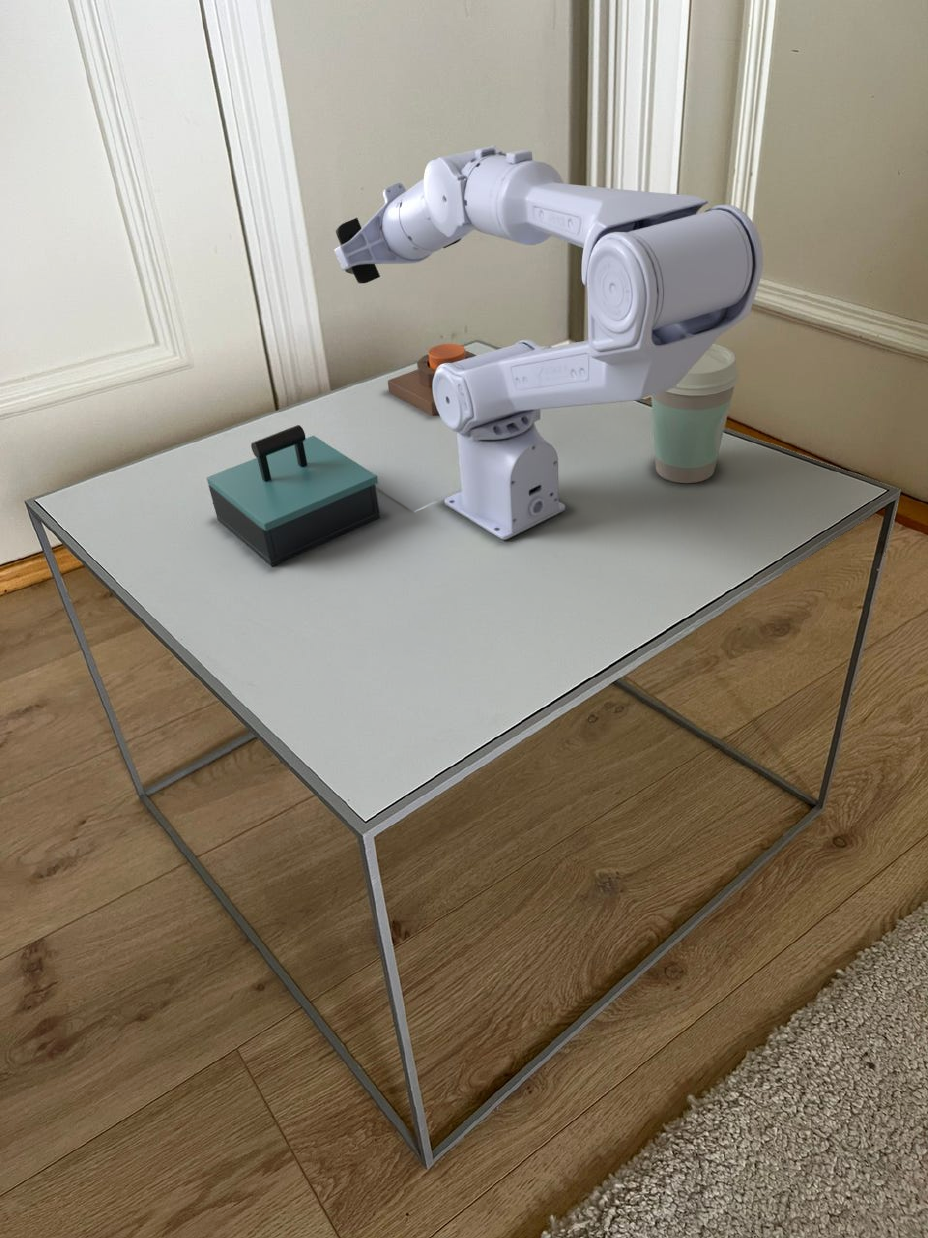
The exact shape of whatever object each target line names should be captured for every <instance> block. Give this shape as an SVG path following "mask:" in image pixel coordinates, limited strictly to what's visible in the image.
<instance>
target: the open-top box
mask: <svg viewBox="0 0 928 1238" xmlns="http://www.w3.org/2000/svg"><path fill="white" fill-rule="evenodd" d="M208 490H209V493H210V497H211V501H212V504H213V507H214V512H215V515H216V518H217V521H218V522H219V523H220V524H221V525H223V526H224V527H225V528H226V529H227V530H228V531H230V532H231V533H232V534H233V535H234V536H235V537H236V538H238V539H239V540H240V541H241V542H242V543H244V544H245V545H246V546H247V547H248V548H249V549H250V550H252V552H254V553H255V554H256V555H258V556H259V557H260V558H261V559H262V560H263V561H264V562H265V563H267V564H268V565H269V566H270V567H274V566H277V565H279V564H281V563H283V562H285V561H288V560H291V559H292V558H294V557H296V556H298V555H301V554H303V553H305V552H307V551H310V550H312V549H315V548H316V547H318V546H321V545H323V544H325V543H328V542H329V541H332V540H334V539H336V538H338V537H341V536H342V535H345V534H347V533H349V532H352V531H354V530H356V529H358V528H360V527H363V526H364V525H367V524H368V523H371V522H373V521H376V520H378V519H380V518H381V514H380V508H379V507H380V506H379V501H378V500H379V499H378V493H377V486H376V484H374V485H372V486H370V487H367V488H365V489H363V490H360V491H358V492H356V493H354V494H351V495H349V496H347V497H344V498H342V499H340V500H337V501H335V502H333V503H330V504H328V505H326V506H324V507H321V508H319V509H317V510H314V511H312V512H310V513H307V514H305V515H303V516H300V517H298V518H296V519H294V520H291V521H289V522H287V523H284V524H282V525H280V526H277V527H275V528H273V529H270V530H268V531H265V530H264V529H263V528H261V527H260V526H259V525H258V524H256V523H255V522H254V521H253V520H252V519H250V518H249V517H248V516H247V515H245V514H244V513H243V512H242V511H241V510H239V509H238V508H237V507H236V506H234V505H233V504H232V503H231V502H229V501H228V500H227V499H226V498H225V497H223V496H222V495H221V494H220V493H218V492H217V491H216V490H215V489H214V488H212V487H211V486H210V485H209V484H208Z"/></svg>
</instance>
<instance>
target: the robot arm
mask: <svg viewBox="0 0 928 1238" xmlns="http://www.w3.org/2000/svg"><path fill="white" fill-rule="evenodd" d="M382 196H383V199H384V204H383V206H381V208H379V210H378V211H376V213H375V214H373V216H372V217H371V218H370V219H369V220H368V221H367V222H366V223H365V224H363V225H364V226H362V225H361V223H360V221H359V219H358V217H355V218H353V219H350V220H347V221H345V222H343V223H341V224H340V225H339V226H338V227H337V228H336V229H335V234H336V237H337V240H338V241H339V244H340V245H339V246H338V247H336V248H335V249H334V250H333V252H334V254H335V257H336V259H337V261H338V263H339V265H340V268H341V270H342V271H343V272H344V271H345V273H347V274H350V275H354V278H355V280H356V282H357V283H358V284H367V283H370V282H372V281H374V280H377V279H379V278H380V277H381V275H380V273H379V270H378V268H377V265H388V264H389V265H392V264H393V265H394V264H396V265H398V264H399V265H400V264H402V265H403V264H404V265H405V264H417V263H420V262H422V261H425V260H426V259H428V258H429V257H430V256H432V254H433V253H435V252H437V251H440V250H441V249H446V248H449V247H451V246H452V245H455V244H457V243H459V242H460V241H461V240H462V239H463V238H464V237H466V236H468V235H469V234H470V233H471V232H473V231H477V232H479V233H483V234H486V235H490V236H493V237H497V238H500V239H504V240H507V241H511V242H514V243H518V244H521V245H525V246H536V245H539V244H542V243H543V242H545V241H548V240H549V239H550V238H551V237H553V238H555V239H559V240H561V241H564V242H566V243H569V244H571V245H574V246H577V247H579V248H582V249H583V250H582V257H581V281H582V284H583V285H584V287H586V289H587V329H588V330H587V332H588V334H587V335H588V339H587V340H582V341H577V342H573V343H572V342H571V343H567V344H563V345H557V346H551V345H545V346H541V345H539V344H537V343H536V342H534V341H533V340H531V339H521V340H519V341H518V342H516V343H515V344H512V345H509V346H505V347H501V348H499V349H494V350H491V351H489V352H485V353H482V354H478V355H477V356H474V357H471V358H468V359H464V360H461V361H458V362H454V363H444V364H441V365H440V366H438V368H437V369H436V372H435V376H434V378H433V396H434V401H435V405H436V408H437V410H438V413H439V414H438V415H439V416H440V419H441V420H442V422H443V423H444V424H445V426H447V427H448V428H449V429H451V430H452V431H453V432H454V433H456V439H457V452H458V453H457V454H458V463H459V464H458V465H459V475H460V476H459V477H460V489H461V491H458V492H456V493H454V494H452V495H450V496H447V497H445V498H444V502H443V503H444V505H445V506H447V507H448V508H450V509H452V510H454V511H455V512H456V513H458V514H459V515H462V516H463V517H465V518H467V519H468V520H470V521H471V522H473V523H474V524H476V525H478V526H480V528H483V529H484V530H485V531H487V532H489V533H491V534H492V535H494V536H495V537H497V538H498V539H500V540H503V541H504V540H505V541H506V540H509V539H511V538H513V537H514V536H517V535H518V534H521V533H523V532H525V531H526V530H528V529H530V528H532V527H534V526H537V525H539V524H540V523H542V522H544V521H546V520H548V519H550V518H552V517H555V516H556V515H559V513H560V514H561V513H562V512H564V511H565V510H566V504H564V503H562V502H560V500H559V456H558V453H557V450H556V449H555V447H554V446H553V445H552V444H551V443H550V442H548V441H547V440H546V439H545V438H544V437H543V436H542V434H540V432H539V430H538V429H537V427H536V424H535V422H538V421H540V420H541V410H547V409H559V408H570V407H582V406H592V405H603V404H604V405H605V404H615V403H624V402H636V401H639V400H642V399H646V398H648V397H651V396H652V395H655V394H657V393H660V392H663V391H666V390H669V389H671V388H673V387H675V386H676V385H677V384H678V383H679V382H680V381H681V380H682V379H683V378H684V377H685V375H686V374H687V373H688V372H689V371H690V370H691V368H692V367H693V366H694V365H695V364H696V363H697V362H698V360H699V359H700V358H701V357H702V356H703V355H704V353H705V352H706V351H707V350H708V349H709V348H710V347H711V345H712V344H715V342H716V341H717V340H718V339H719V338H720V337H721V336H723V334H725V333H727V332H728V331H730V329H732V328H733V327H735V326H736V325H737V324H739V323H740V322H742V321H743V320H744V319H746V318H748V317H749V315H750V314H751V311H752V308H753V304H754V301H755V299H756V298H755V297H756V295H757V291H758V289H759V284H760V281H761V277H762V274H763V265H764V253H763V246H762V241H761V238H760V234H759V232H758V230H757V227H756V226H755V224H754V222H753V220H752V219H751V217H749V215H748V214H747V213H746V212H745V211H744V210H742V209H741V208H739V207H738V206H735V205H732V204H719V205H715V206H712V207H711V208H708V209H706V210H705V211H703V212H699V211H700V210H701V209H702V208H703V207H704V206H705V205H707V204H709V201H708V200H706V199H704V198H702V197H700V196H697V195H692V194H678V193H667V192H653V191H652V192H651V191H643V190H642V191H641V190H632V189H624V188H623V189H622V188H614V187H613V188H612V187H601V186H591V185H583V184H582V185H581V184H571V183H565V181H564V179H563V178H562V176H561V175H560V173H559V171H557V169H556V168H555V167H554V166H552V165H551V164H549V163H546V162H544V161H537V160H534V159H533V152H532V150H528V149H519V150H515V151H509V152H505V151H502V150H501V149H499V148H498V147H497V146H496V145H495V144H492V145H491V146H486V147H482V148H477V149H474V150H469V151H464V152H459V153H454V154H450V155H449V154H448V155H444V156H439V157H437V158H436V159H432V160H430V161H428V163H427V165H426V166H425V170H424V174H423V178H422V179H421V180H420V181H418V182H417V183H415V184H414V185H413V186H411V187H409V188H408V189H406V188H405V185H404V184H403V183H401V182H397V183H394V184H392V185H390V186H387V187H386V188H385V189H383V191H382Z"/></svg>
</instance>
